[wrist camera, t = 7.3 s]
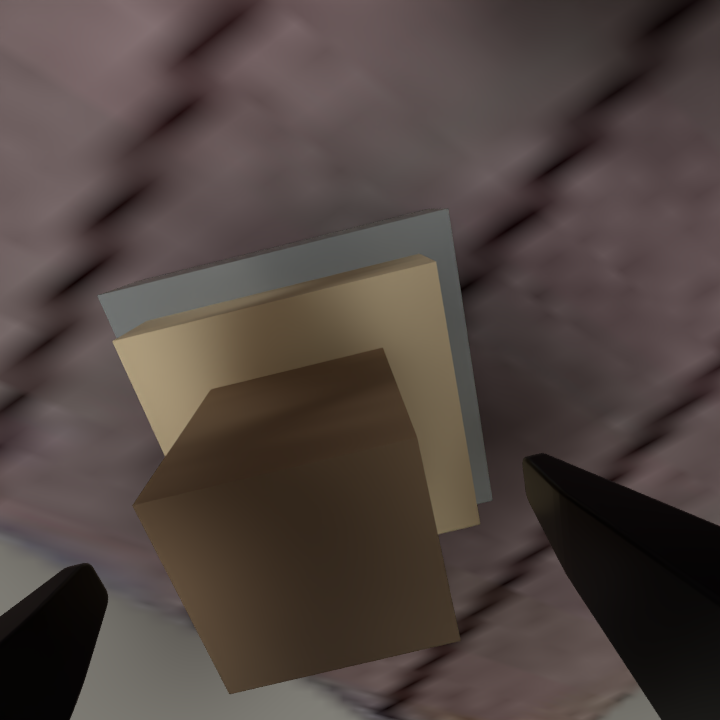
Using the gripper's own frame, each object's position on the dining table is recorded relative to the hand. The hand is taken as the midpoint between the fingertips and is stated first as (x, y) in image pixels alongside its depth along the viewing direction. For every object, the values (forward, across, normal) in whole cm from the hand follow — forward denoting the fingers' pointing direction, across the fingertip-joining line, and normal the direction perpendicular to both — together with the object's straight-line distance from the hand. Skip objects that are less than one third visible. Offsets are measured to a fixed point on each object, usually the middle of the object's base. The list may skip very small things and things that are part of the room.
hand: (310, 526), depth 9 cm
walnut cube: (+3, 0, 0) cm, 3 cm away
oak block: (+5, 0, 0) cm, 5 cm away
